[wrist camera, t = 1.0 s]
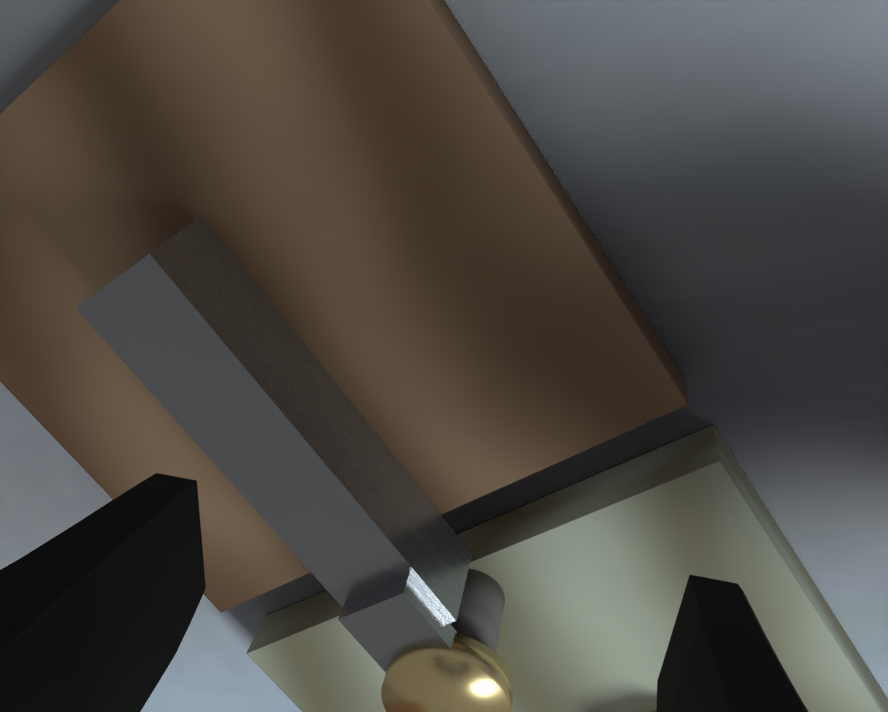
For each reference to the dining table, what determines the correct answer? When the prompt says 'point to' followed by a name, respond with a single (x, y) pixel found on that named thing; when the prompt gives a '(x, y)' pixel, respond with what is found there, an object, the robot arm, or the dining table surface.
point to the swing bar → (303, 464)
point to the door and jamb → (387, 336)
